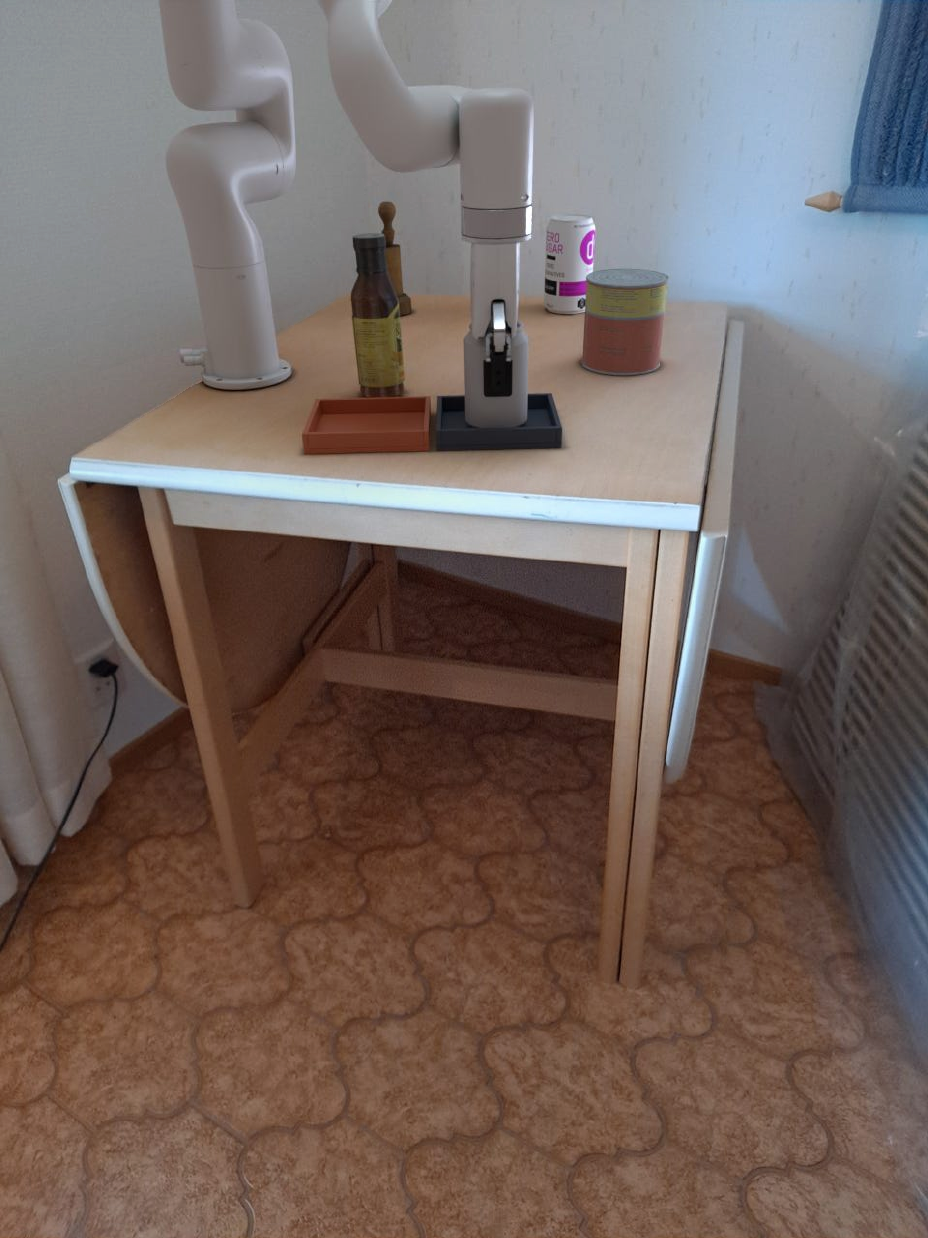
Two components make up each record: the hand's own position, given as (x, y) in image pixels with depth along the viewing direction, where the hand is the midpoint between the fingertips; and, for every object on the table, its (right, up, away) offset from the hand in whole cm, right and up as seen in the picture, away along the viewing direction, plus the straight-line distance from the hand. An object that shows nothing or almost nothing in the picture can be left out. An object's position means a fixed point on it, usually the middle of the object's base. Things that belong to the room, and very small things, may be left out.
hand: (496, 382), depth 101 cm
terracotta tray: (-15, -5, +3) cm, 16 cm away
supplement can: (+15, +27, +52) cm, 61 cm away
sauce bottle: (-15, +2, +15) cm, 22 cm away
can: (0, -5, +3) cm, 5 cm away
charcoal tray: (0, -5, +3) cm, 6 cm away
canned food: (+19, +9, +25) cm, 33 cm away
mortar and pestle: (-16, +27, +53) cm, 62 cm away
